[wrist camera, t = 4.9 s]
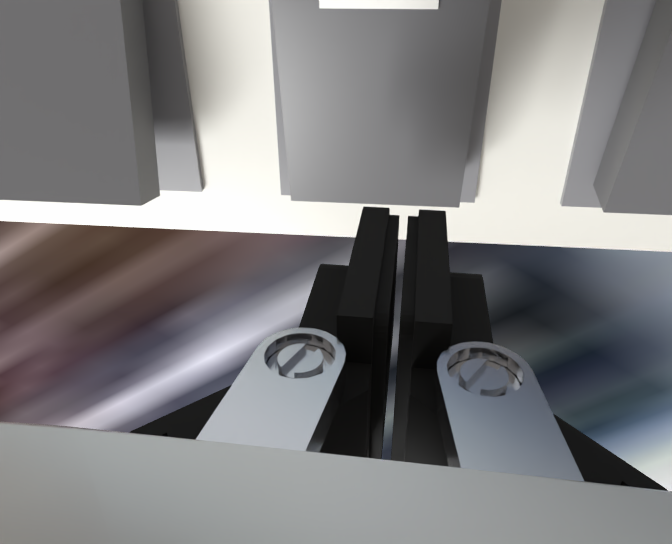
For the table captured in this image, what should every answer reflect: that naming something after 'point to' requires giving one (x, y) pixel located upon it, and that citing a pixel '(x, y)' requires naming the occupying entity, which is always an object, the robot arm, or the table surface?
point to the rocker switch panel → (343, 218)
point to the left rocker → (76, 103)
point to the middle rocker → (378, 97)
